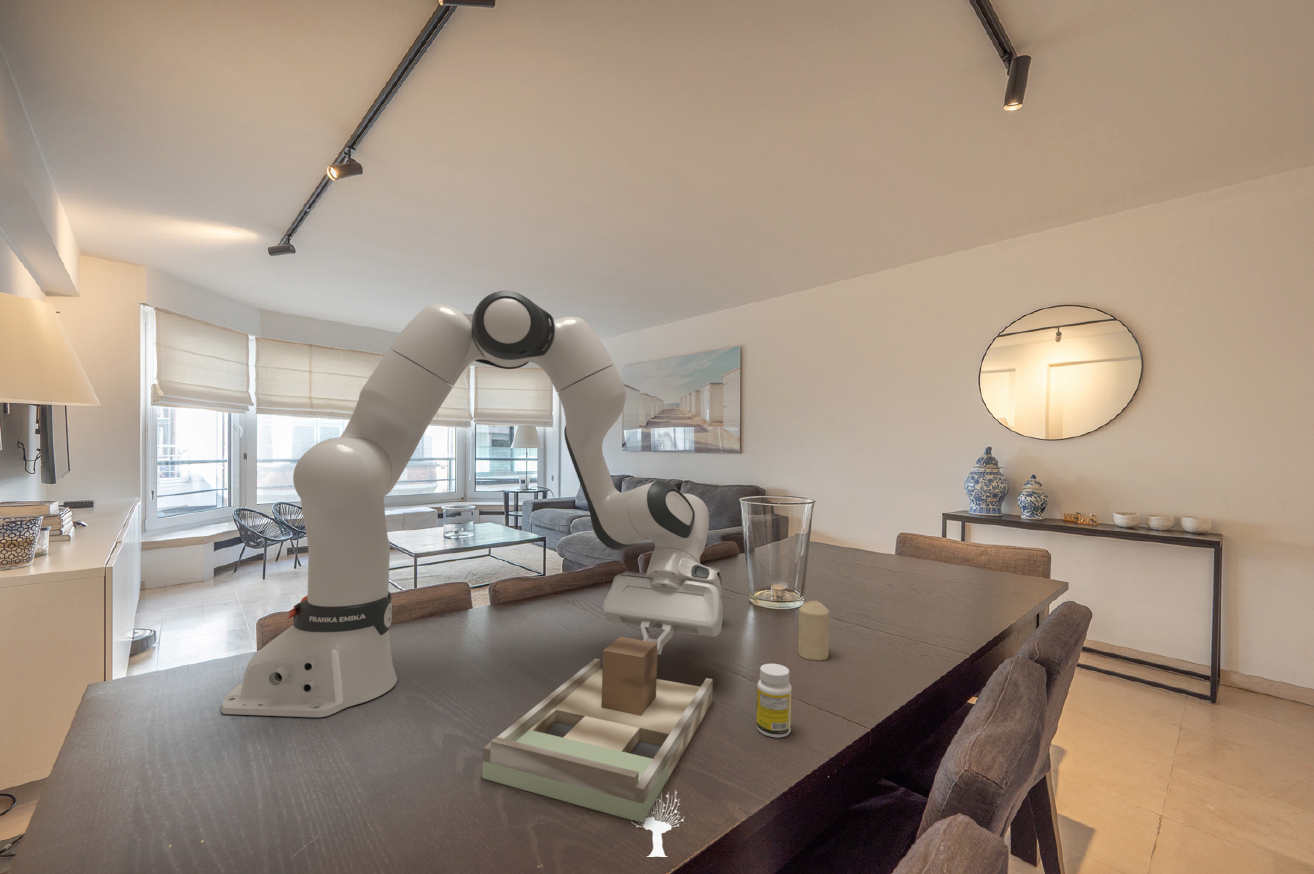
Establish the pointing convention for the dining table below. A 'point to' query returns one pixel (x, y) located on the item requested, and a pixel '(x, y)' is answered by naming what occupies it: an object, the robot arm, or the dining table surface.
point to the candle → (813, 631)
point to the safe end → (576, 793)
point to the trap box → (605, 734)
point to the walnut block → (629, 675)
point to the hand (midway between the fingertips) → (650, 651)
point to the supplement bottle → (774, 701)
